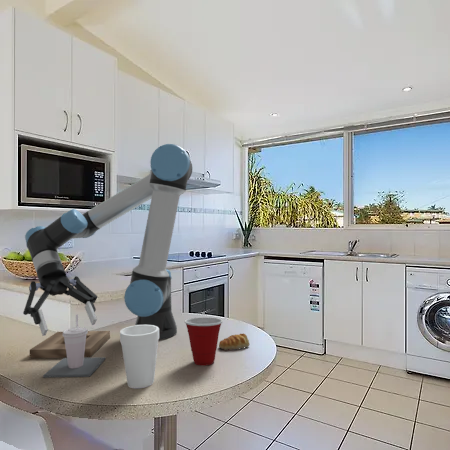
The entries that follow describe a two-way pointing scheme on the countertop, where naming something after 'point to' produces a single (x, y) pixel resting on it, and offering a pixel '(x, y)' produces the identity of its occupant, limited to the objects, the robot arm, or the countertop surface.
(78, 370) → the rubber mat
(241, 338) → the pastry
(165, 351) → the countertop surface
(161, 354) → the countertop surface
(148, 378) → the foam cup
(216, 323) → the plastic cup
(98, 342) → the holder block
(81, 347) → the smoothie
